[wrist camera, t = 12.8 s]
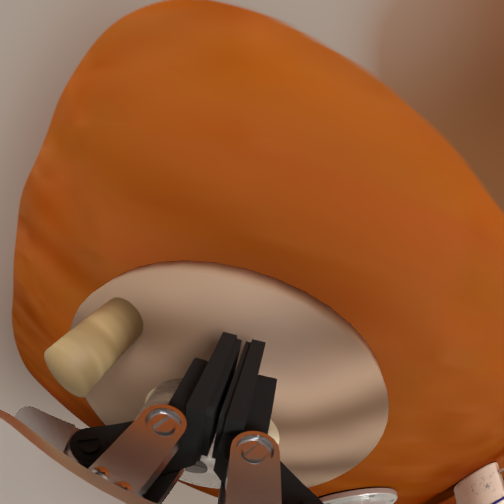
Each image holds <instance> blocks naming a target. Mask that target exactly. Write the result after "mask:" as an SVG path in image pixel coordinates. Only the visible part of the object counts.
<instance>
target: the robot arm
mask: <svg viewBox="0 0 504 504" xmlns="http://www.w3.org/2000/svg"><path fill="white" fill-rule="evenodd" d="M241 342H242V340H239V339H237V335H235V334H231V333H227V332H223V333H222V335H221V337H220V339H219V341H218V343H217V345H216V347H215V349H214V351H213V353H212V355H211V357H210V359H209V361H206V360H203V359H200V358H194V360H193V361H192V363H191V365H190V367H189V368H188V370H187V372H186V374H185V375H184V377H183V379H182V381H181V382H180V384H179V386H178V387H177V389H176V391H175V393H174V394H173V396H172V398H171V400H170V401H169V403H168V405H164V404H158V405H153V406H150V407H148V408H147V409H145V410H144V411H143V412H142V413H141V414H140V415H139V416H138V417H137V419H136V420H135V421H130V422H124V423H119V424H113V425H106V426H100V427H92V428H85V429H78V428H76V427H75V425H73V424H70V423H68V422H66V421H63V420H61V419H58V418H56V417H54V416H52V415H49V414H47V413H45V412H43V411H40V410H39V409H37V408H34V407H31V406H28V407H23V408H21V409H20V410H19V411H18V412H17V413H16V415H15V417H13V416H11V415H10V414H8V413H6V412H4V411H2V410H0V504H162V502H163V501H164V499H165V498H166V497H167V495H168V494H169V493H170V491H171V490H172V488H173V487H174V485H175V484H176V483H177V481H178V480H179V478H180V477H181V475H182V474H183V472H184V471H185V468H187V467H190V466H193V465H195V464H196V462H197V461H200V459H201V456H202V455H203V456H208V454H209V451H210V448H211V445H212V443H213V440H214V437H215V442H214V447H213V453H212V458H214V459H215V464H214V469H213V471H214V472H215V473H216V475H217V476H218V477H219V479H220V480H221V481H220V489H219V498H218V504H393V503H394V502H395V501H396V500H397V492H396V490H393V489H390V488H366V489H358V490H351V491H346V492H341V493H336V494H332V495H328V496H324V497H321V498H318V497H317V496H316V495H315V494H313V493H312V492H311V491H310V490H309V489H308V488H307V487H306V486H305V485H304V484H303V483H302V482H301V481H300V480H299V479H298V478H297V477H296V476H295V475H294V474H293V473H292V472H291V471H290V470H289V469H288V468H287V467H286V466H285V465H284V464H283V463H282V462H281V461H280V450H279V446H278V444H277V442H276V441H275V440H274V439H273V438H272V437H271V436H270V435H268V431H269V426H270V420H271V414H272V409H273V403H274V397H275V391H276V384H277V379H276V378H272V377H267V376H263V375H258V373H259V369H260V365H261V361H262V357H263V352H264V348H265V344H266V342H263V341H258V340H254V339H252V341H251V342H247V341H246V342H245V345H244V348H243V351H242V354H241V356H240V359H239V362H238V365H237V361H238V356H239V351H240V347H241ZM236 366H237V368H236ZM215 435H216V436H215Z"/></svg>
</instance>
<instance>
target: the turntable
mask: <svg viewBox="0 0 504 504" xmlns="http://www.w3.org/2000/svg"><path fill="white" fill-rule="evenodd" d="M223 332H227V333H231V334H235V335H237V339H239V340H242V342H241V347H240V351H239V356H238V361H237V365H238V362H239V359H240V356H241V354H242V351H243V348H244V345H245V342H246V341H247V342H251V341H252V339H254V340H258V341H263V342H266V344H265V348H264V352H263V357H262V361H261V365H260V369H259V373H258V375H263V376H267V377H272V378H276V379H277V384H276V391H275V397H274V403H273V409H272V414H271V420H270V426H269V431H268V435H270V436H271V437H272V438H273V439H274V440H275V441H276V442H277V444H278V446H279V450H280V461H281V462H282V463H283V464H284V465H285V466H286V467H287V468H288V469H289V470H290V471H291V472H292V473H293V474H294V475H295V476H296V477H297V478H298V479H299V480H300V481H301V482H302V483H303V484H304V485H305V486H306V487H307V488H308V487H311V486H315V485H318V484H321V483H324V482H327V481H329V480H332V479H334V478H336V477H338V476H340V475H342V474H344V473H345V472H347V471H349V470H350V469H352V468H353V467H355V466H356V465H357V464H359V463H360V462H361V461H362V460H363V459H364V458H366V457H367V456H368V454H369V453H370V452H371V451H372V450H373V449H374V448H375V446H376V445H377V443H378V442H379V440H380V438H381V437H382V435H383V432H384V430H385V427H386V424H387V420H388V412H389V403H388V394H387V390H386V386H385V383H384V379H383V376H382V373H381V370H380V368H379V365H378V362H377V359H376V357H375V356H374V354H373V352H372V351H371V349H370V347H369V346H368V344H367V343H366V341H365V340H364V339H363V338H362V337H361V335H360V334H359V333H358V332H357V331H356V330H355V329H354V328H353V326H352V325H351V324H350V323H349V322H347V321H346V320H345V319H344V318H343V317H341V316H340V315H339V314H338V313H336V312H335V311H334V310H333V309H332V308H330V307H329V306H327V305H326V304H324V303H322V302H321V301H319V300H318V299H316V298H314V297H313V296H311V295H309V294H308V293H306V292H305V291H302V290H300V289H298V288H296V287H294V286H291V285H289V284H287V283H285V282H283V281H280V280H278V279H276V278H273V277H270V276H267V275H264V274H261V273H257V272H254V271H251V270H248V269H245V268H240V267H235V266H230V265H225V264H220V263H214V262H200V261H187V260H186V261H170V262H159V263H154V264H149V265H145V266H140V267H137V268H135V269H132V270H130V271H127V272H125V273H122V274H120V275H119V276H117V277H116V278H114V279H113V280H111V281H109V282H108V283H106V284H105V285H103V286H102V287H100V288H99V289H97V290H96V291H95V292H93V293H92V294H90V295H89V297H88V298H87V299H86V300H85V301H84V302H83V303H82V304H81V305H80V307H79V309H78V311H77V312H76V314H75V316H74V318H73V322H72V325H71V328H70V331H69V332H68V333H67V334H65V335H64V336H63V337H62V338H61V339H59V340H58V341H57V342H56V343H54V344H53V345H52V346H51V347H50V348H48V349H47V350H46V351H45V353H44V357H45V361H46V364H47V366H48V368H49V370H50V372H51V373H52V375H53V376H54V377H55V379H56V380H57V381H58V382H59V383H60V384H61V385H62V386H63V387H64V388H65V389H66V390H67V391H69V392H70V393H72V394H73V395H75V396H78V397H85V398H86V400H87V401H88V403H89V405H90V406H91V408H92V409H93V410H94V412H95V413H96V414H97V416H98V417H99V418H100V419H101V420H102V422H103V423H104V424H105V425H113V424H119V423H124V422H130V421H134V420H135V419H136V417H137V415H138V414H139V412H140V411H141V409H142V408H143V406H144V405H145V403H146V402H147V400H148V399H149V397H150V396H151V394H152V392H153V391H154V389H155V388H156V387H157V386H158V385H159V384H161V383H162V382H165V381H168V380H172V379H183V377H184V375H185V374H186V372H187V370H188V368H189V367H190V365H191V363H192V361H193V360H194V358H200V359H203V360H206V361H209V359H210V357H211V355H212V353H213V351H214V349H215V347H216V345H217V343H218V341H219V339H220V337H221V335H222V333H223ZM236 368H237V366H236Z"/></svg>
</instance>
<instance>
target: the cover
mask: <svg viewBox="0 0 504 504" xmlns="http://www.w3.org/2000/svg"><path fill="white" fill-rule="evenodd" d="M181 381H182V379H172V380H168V381H165V382H162V383H161V384H159V385H158V386H157V387H156V388H155V389H154V391H153V392H152V394H151V396H150V397H149V399H148V400H147V402H146V403H145V405H144V406H143V408H142V409H141V411H140V412H139V414H138V415H137V417H138V416H139V415H140V414H141V413H142V412H143V411H144V410H145V409H147V408H148V407H150V406H153V405H158V404H164V405H168V403H169V401H170V400H171V398H172V396H173V394H174V393H175V391H176V389H177V387H178V386H179V384H180V382H181ZM137 417H136V419H137ZM136 419H135V420H136ZM135 420H134V421H135ZM215 436H216V435H215ZM214 442H215V437H214V440H213V443H212V445H211V448H210V451H209V454H208V456H203V455H202V456H201V459H200V461H197V462H196V464H195V465H193V466H190V467H187V468H185V471H184V472H183V474H182V475H181V477H180V478H179V480H182V481H184V482H187V483H191V484H194V485H198V486H203V487H209V488H218V489H220V481H221V480H220V479H219V477H218V476H217V475H216V473H215V472H214V471H213V469H214V464H215V459H214V458H212V453H213V447H214Z"/></svg>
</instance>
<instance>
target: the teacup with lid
mask: <svg viewBox="0 0 504 504" xmlns="http://www.w3.org/2000/svg"><path fill="white" fill-rule="evenodd" d="M503 471H504V467H503V468H502V469H499V467H498V464H497V463H496V462H493V463H490V464H488V465H486V466H484V467H482V468H480V469H478V470H476V471H475V472H473V473H472V474H470V475H469V476H467V477H466V478H464V479H463V480H461V481H460V482H459V483H458V484H457V485H456V486H455V487H454V494H455V498H456V503H457V504H504V481H503V478H502V475H501V473H502V472H503Z"/></svg>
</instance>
